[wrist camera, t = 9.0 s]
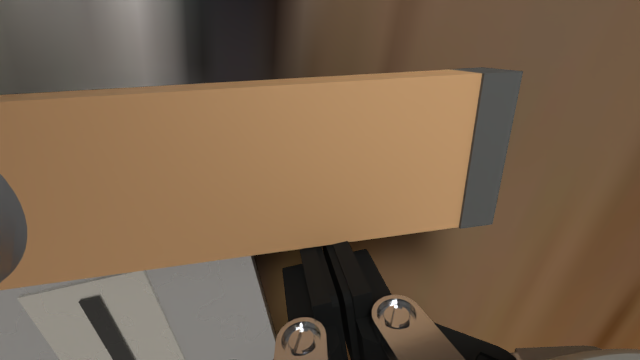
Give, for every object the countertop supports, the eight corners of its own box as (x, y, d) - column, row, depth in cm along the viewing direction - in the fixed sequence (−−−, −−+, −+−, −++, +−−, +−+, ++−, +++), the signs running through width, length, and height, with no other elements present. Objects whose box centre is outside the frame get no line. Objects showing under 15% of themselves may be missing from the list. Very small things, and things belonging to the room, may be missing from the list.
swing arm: (-99, 273, 10) (-170, 319, 8) (-216, 102, 8) (-341, 117, 6) (461, 203, 13) (491, 226, 11) (482, 64, 11) (523, 67, 9)
